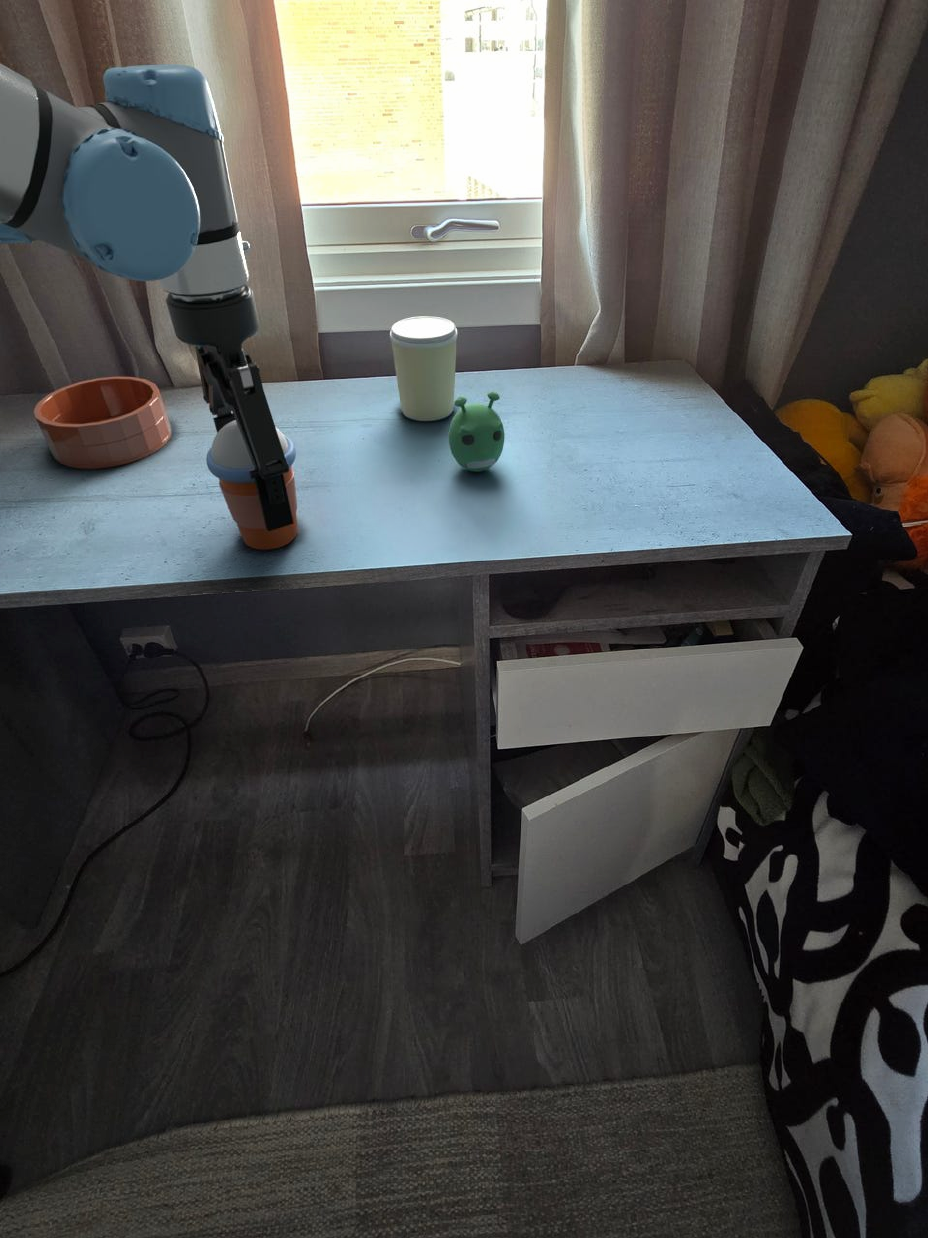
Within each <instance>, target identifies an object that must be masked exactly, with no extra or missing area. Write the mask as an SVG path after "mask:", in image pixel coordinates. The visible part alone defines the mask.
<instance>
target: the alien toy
mask: <svg viewBox="0 0 928 1238" xmlns="http://www.w3.org/2000/svg"><path fill="white" fill-rule="evenodd" d="M486 395H487V397H488V399H489V402H488V404H484V403H479V402H478V403H474V402H473V403H469V404H467V402H468V400H467V398H466V397H464V396H459V397H457V398H456V399H455V400H454V406H455V407H458V408H460V409H459V410H458V411H457V412H456V413H455V415H454V416H453V418H452V420H451V423H450V425H449V426H450V427H449V430H448V444H449V449H450V452H451V455H452V457H453V458H454V460H455V461H456V463H457V464H458V465H459V466H460V467H461V468H463V469H465V470H467V471H470V472H483V471H486V470H489V469H490V468H491V467H493V466H494V465H495V464H496V463H497V462H498V460H499V459H500V457H501V455H502V453H503V450H504V445H505V429H504V424H503V421H502V420H501V418H500V415H499V414H498V413H497V411H495V410H494V408H492V407H493V404H494V402H496V401H499V400H500V394H499V393H498V392H497V391H488V392H487V394H486ZM466 404H467V405H466Z"/></svg>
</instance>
